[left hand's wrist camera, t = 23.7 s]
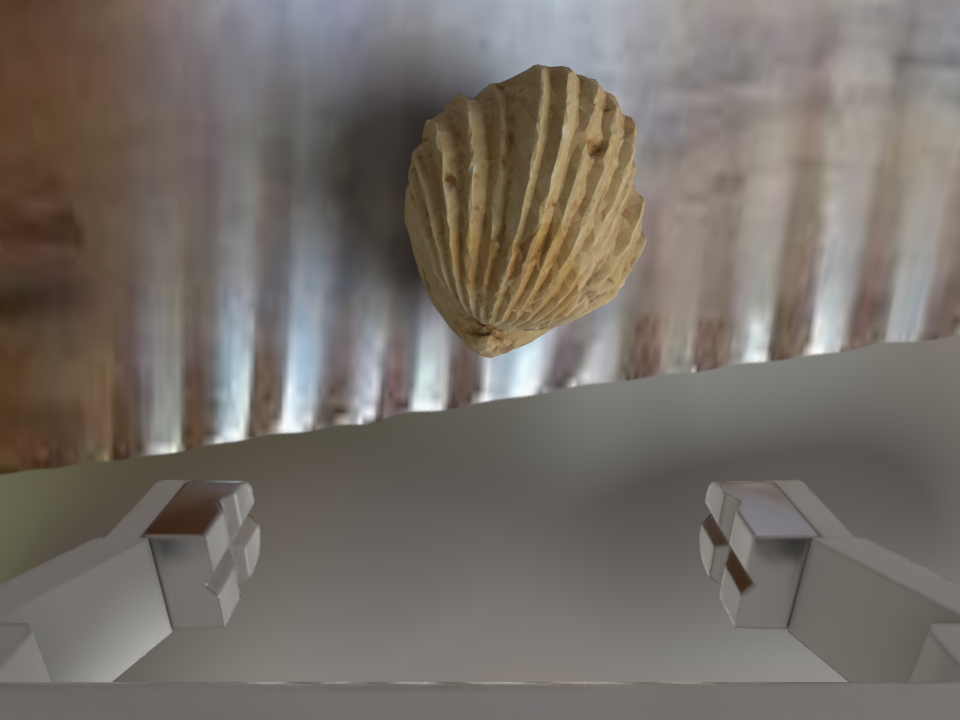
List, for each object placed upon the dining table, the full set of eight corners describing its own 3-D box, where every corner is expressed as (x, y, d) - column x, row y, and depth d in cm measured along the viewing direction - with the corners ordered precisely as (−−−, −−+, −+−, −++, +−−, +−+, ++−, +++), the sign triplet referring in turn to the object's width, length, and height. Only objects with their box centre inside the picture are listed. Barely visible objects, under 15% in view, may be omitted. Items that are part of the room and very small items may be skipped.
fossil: (382, 290, 44) (336, 366, 30) (445, 41, 38) (424, -7, 24) (570, 345, 46) (609, 442, 32) (660, 116, 39) (757, 112, 26)
